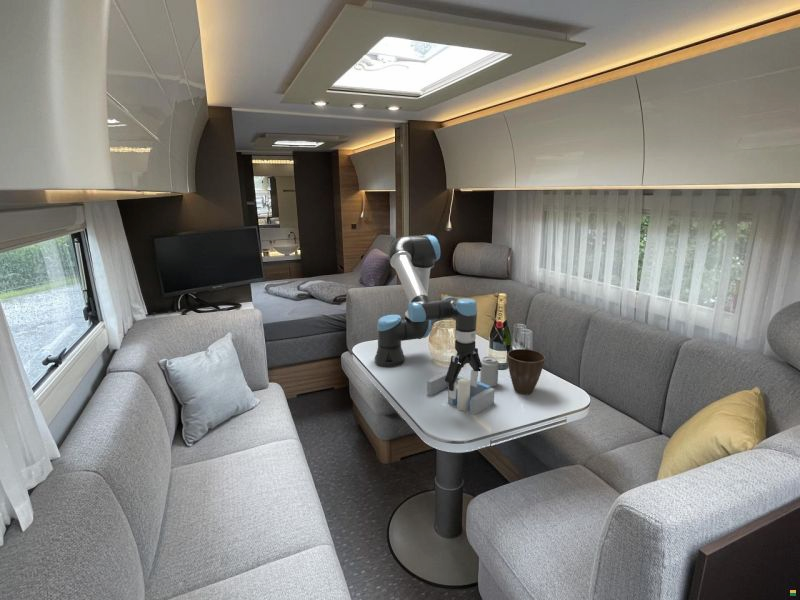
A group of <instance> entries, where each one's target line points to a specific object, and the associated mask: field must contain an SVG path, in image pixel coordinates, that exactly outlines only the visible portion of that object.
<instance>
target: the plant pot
mask: <svg viewBox="0 0 800 600" xmlns="http://www.w3.org/2000/svg"><path fill="white" fill-rule="evenodd" d="M506 356H507V365H508V370H509V372H508V373H509V375H510V381H511V384H512V386H513V389H514V391H515V392H516V393H517V394H521V395H530V394H532V393H533V392H534V391H535V388H536V386H537V384H538V382H539V380H540V378H541V377H540V376H541V374H542V371H543V368H544V364H545V359H546V356H545V355H544V354H543V353H541V352H539V351H536V350H533V349H526V348H516V349H515V348H514V349H512V350H508V352H507V355H506Z"/></svg>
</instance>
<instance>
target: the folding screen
mask: <svg viewBox="0 0 800 600" xmlns="http://www.w3.org/2000/svg"><path fill="white" fill-rule="evenodd" d="M447 372H448V371H446V372H443V373H441V374H439V375H437V376H435V377H432V378H431V379H429V380H427V384H426V385H427V386H426V387H427V389H426V390H427V395H429V396H433V395H435V394H437V393H439V392H441V391H443V390H445V389H447V403H448V404H450V405H451V406H454V405H455V404H456V405H457V393H458V380H460V379H467V380H470V382H471V379H468V378H465V377H464V376H460V375H458V377H457V379H456V381H455V382H456V399H453V398H451V397H449V383H448V382H445V378H446V375H447ZM495 393H496V392H495V388H493V387H490V386H489V385H486V384H483V383H481V382H480V381H478V380H477V387H474V386H472V385H470V408H469V413H470V414H472V415H475V416H476V415H477V414H479V413H480V412H482V411H483V410H485V409H486V408H488V407H490V406H491V405H493V404H494V403H495Z"/></svg>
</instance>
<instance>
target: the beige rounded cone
mask: <svg viewBox="0 0 800 600" xmlns="http://www.w3.org/2000/svg"><path fill="white" fill-rule="evenodd" d="M467 379H468V378H466V379H460V380H458V393H457V403H456V405H457V406H456V408H457V410H458V411H465V412H466V411H470V398H471V396H470V380H471V379H469V380H467Z"/></svg>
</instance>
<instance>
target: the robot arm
mask: <svg viewBox="0 0 800 600" xmlns="http://www.w3.org/2000/svg"><path fill="white" fill-rule="evenodd" d="M440 258H441V246H440V243H439V240H438V239H437V237H436V236H434V235H427V234H424V235H403V236H400V237H398V238H396V239H395V240H394V241H393V242H392V243H391V245H390V247H389V250H388V261H389V264H390V266H391V267H392V268H393V269H395V272H396V274H397V276H398V278H399V281H400V284H401V285H402V288H403V290H404V292H405V294H406V297H407V300H408V305H407V310H406V311H405V313H404V317H402V316H401V315H400V314H387V315H384V316H381V317H380V318H378V320H377V327H376V329H377V348H376V349H377V350H376V353H375V356H374V362H375V365H377V366H380V367H383V368H394V367H399V366H402V365H403V364H404V363H405V362H406V360H405V359H406V357H405V354H404V351H403V348H402V342H404V341H411V340H421V339H426V338H427V337H429V335H430V333H431V331H432V321H436V320H437V321H438V320H446V319H452V320H454V321H455V331H454V332H455V333H454V334H455V335H454V338H455V340H454V349H455V351H456V355H455V356H454V355H451V356H450V363H449V365H448V369H447V371H446V372H447V375H446V378H445V382H448V383H449V387H448V389H449V397H451V398H453V399H456V382H455V381H456V379H457V377H458V376H460V375H459V374H460V373H461V370H462V368H464V367H465V365H466V364H469V366H470V367H471V369H470V380H471V382H470V385H472V386H474V387H477V381H478V377H479V372H481V367H482V364H481V361H482V360H481V359H480V355H479V349H478V348H477V347H476V335H477V334H476V332H477V318H478V303H477V301H476V299H473V298H457V297H453V296H445V297H444V298H443V299H438V300H430V298H429V296H428V295H429V286H430V285H429V283H430V277H431V276H430V275H431V269H432V268H434V267H435V263H436V262H437V261H438V260H439V259H440Z"/></svg>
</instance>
